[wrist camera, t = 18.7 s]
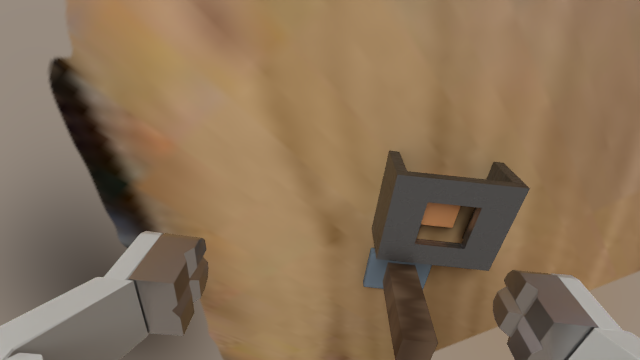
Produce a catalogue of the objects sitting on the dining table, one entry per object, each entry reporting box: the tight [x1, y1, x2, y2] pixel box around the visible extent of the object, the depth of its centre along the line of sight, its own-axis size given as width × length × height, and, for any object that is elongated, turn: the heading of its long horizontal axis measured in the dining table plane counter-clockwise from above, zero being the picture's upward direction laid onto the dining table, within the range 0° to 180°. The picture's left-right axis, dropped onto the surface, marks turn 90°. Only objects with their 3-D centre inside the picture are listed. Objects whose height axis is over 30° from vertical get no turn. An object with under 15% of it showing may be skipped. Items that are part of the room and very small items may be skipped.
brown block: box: [383, 262, 438, 360], centre depth 42 cm, size 4×4×12 cm
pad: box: [363, 248, 432, 290], centre depth 47 cm, size 9×7×1 cm
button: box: [421, 202, 461, 228], centre depth 40 cm, size 5×5×2 cm
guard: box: [372, 151, 530, 271], centre depth 39 cm, size 14×12×6 cm
